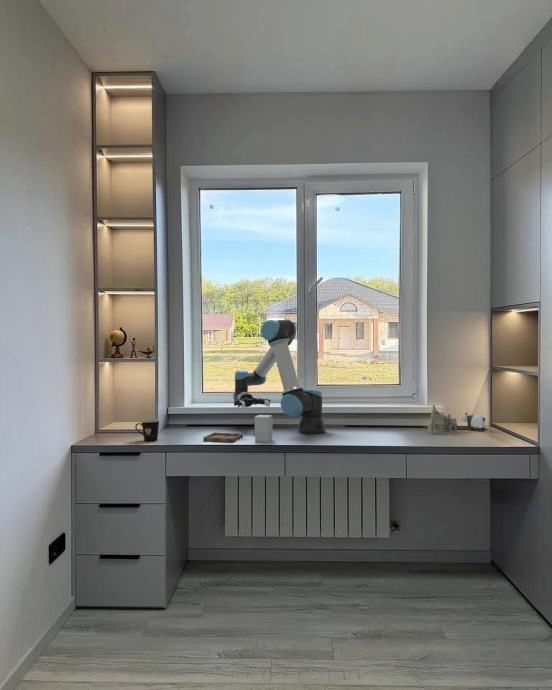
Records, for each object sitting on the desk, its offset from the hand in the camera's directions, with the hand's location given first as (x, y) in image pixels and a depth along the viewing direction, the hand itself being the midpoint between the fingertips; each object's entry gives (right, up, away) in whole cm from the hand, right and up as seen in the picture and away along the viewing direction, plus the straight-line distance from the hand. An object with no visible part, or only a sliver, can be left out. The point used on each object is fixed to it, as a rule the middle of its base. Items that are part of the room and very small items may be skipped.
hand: (256, 404), depth 278 cm
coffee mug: (-55, -17, -9) cm, 58 cm away
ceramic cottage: (+101, -17, +10) cm, 103 cm away
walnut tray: (-17, -17, -7) cm, 25 cm away
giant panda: (+120, -16, +16) cm, 122 cm away
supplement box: (+4, -17, -11) cm, 21 cm away
